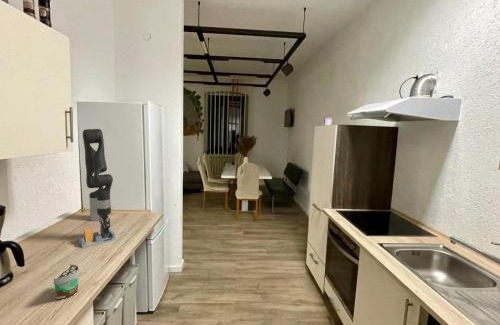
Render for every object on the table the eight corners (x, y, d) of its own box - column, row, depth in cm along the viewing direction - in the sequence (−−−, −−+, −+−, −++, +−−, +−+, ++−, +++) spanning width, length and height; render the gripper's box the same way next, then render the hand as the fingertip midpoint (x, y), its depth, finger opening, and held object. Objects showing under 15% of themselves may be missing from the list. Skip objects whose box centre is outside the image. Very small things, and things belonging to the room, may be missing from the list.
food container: (70, 302, 108) (69, 279, 107) (54, 302, 107) (53, 279, 106) (86, 284, 120) (85, 263, 119) (72, 284, 119) (71, 263, 118)
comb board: (77, 240, 164) (77, 235, 164) (109, 233, 176) (109, 228, 176) (82, 248, 155) (82, 242, 154) (116, 240, 167) (115, 234, 166)
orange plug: (84, 240, 162) (83, 229, 161) (91, 238, 165) (91, 227, 164) (85, 242, 160) (85, 231, 159) (93, 240, 162) (92, 229, 161)
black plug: (100, 236, 168) (100, 226, 168) (107, 235, 171) (107, 224, 170) (102, 238, 166) (102, 227, 165) (109, 237, 168) (109, 226, 167)
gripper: (94, 204, 168) (95, 229, 171) (100, 210, 158) (101, 237, 160) (107, 202, 174) (108, 227, 176) (114, 208, 163) (114, 233, 165)
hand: (104, 231), depth 168 cm, fingers open, 7 cm apart
